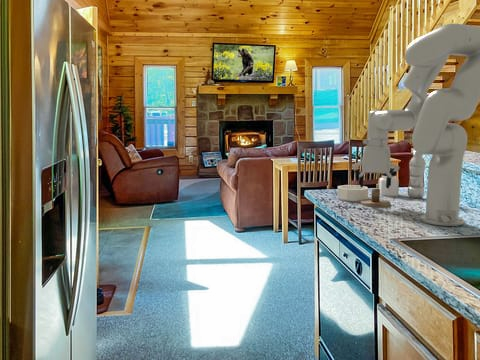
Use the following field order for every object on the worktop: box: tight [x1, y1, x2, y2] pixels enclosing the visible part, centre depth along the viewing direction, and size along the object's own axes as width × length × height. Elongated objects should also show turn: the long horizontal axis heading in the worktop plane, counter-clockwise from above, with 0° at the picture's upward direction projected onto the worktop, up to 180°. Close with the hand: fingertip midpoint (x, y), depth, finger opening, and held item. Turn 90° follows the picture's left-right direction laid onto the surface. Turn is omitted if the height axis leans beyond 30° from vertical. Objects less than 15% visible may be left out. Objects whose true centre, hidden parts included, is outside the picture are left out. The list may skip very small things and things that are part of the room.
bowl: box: [337, 184, 369, 202], centre depth 168 cm, size 12×12×5 cm
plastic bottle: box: [406, 149, 427, 199], centre depth 167 cm, size 6×7×20 cm
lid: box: [360, 187, 391, 208], centre depth 156 cm, size 11×11×6 cm
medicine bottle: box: [378, 167, 400, 197], centre depth 176 cm, size 7×7×12 cm
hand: (374, 187), depth 156 cm, fingers open, 9 cm apart
